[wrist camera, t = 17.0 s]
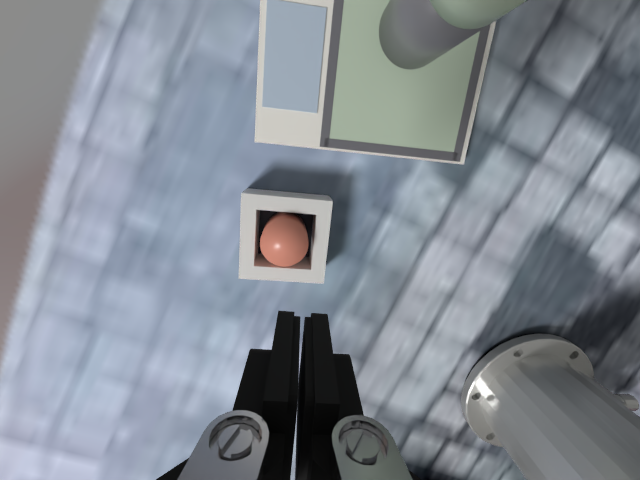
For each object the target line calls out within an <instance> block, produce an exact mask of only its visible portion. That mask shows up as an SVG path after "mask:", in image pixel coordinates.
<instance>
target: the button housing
mask: <svg viewBox="0 0 640 480" xmlns="http://www.w3.org/2000/svg"><path fill="white" fill-rule="evenodd" d="M332 206H333V201H332V199H331V198H330V197H329V196H328V195H317V194H306V193H295V192H284V191H273V190H262V189H251V188H247V189H246V190H244V191H243V192H242V193H241V221H240V254H239V279H255V280H272V281H289V282H305V283H322V284H324V275H325V267H326V258H327V249H328V240H329V232H330V223H331V214H332ZM260 210H267V211H279V212H291V213H303V214H313V224H312V235H311V245H310V255H309V257H304V258H303V259H302V260H301V261H300V262H298V263H296V264H294V265H292V266H286V267H283V266H277V265H274V264H272V263H271V262H269V261H268V260H267V259H266V258H265V257H264V255H263V254H258V244H259V223H260Z"/></svg>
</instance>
